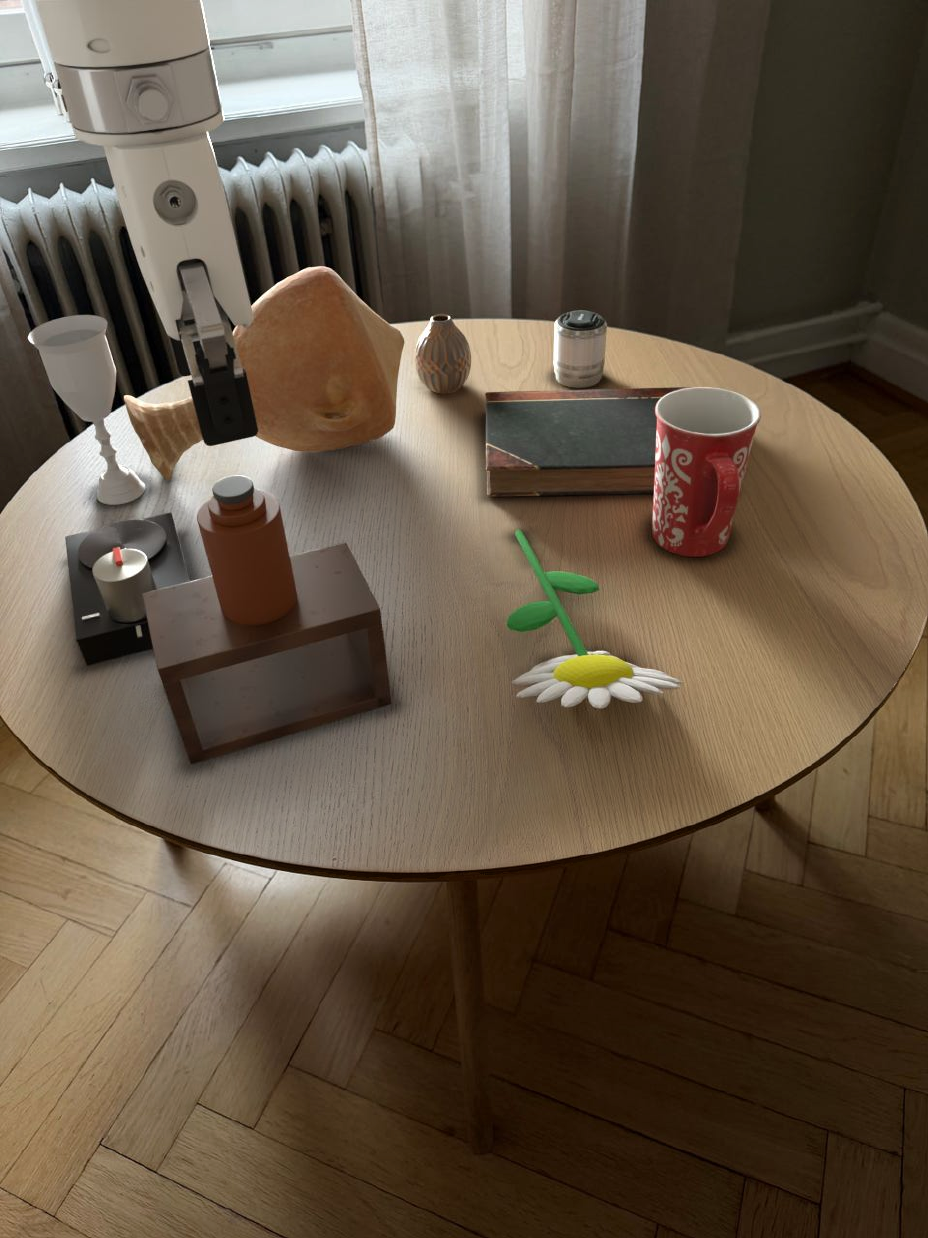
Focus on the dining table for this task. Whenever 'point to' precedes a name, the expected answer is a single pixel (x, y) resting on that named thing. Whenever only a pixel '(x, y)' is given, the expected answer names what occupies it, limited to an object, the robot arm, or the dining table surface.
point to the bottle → (247, 552)
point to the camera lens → (579, 348)
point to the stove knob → (124, 583)
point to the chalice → (87, 389)
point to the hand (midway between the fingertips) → (217, 402)
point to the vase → (442, 356)
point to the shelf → (270, 657)
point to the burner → (123, 540)
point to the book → (572, 441)
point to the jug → (298, 374)
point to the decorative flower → (577, 651)
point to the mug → (700, 467)
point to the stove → (91, 618)
